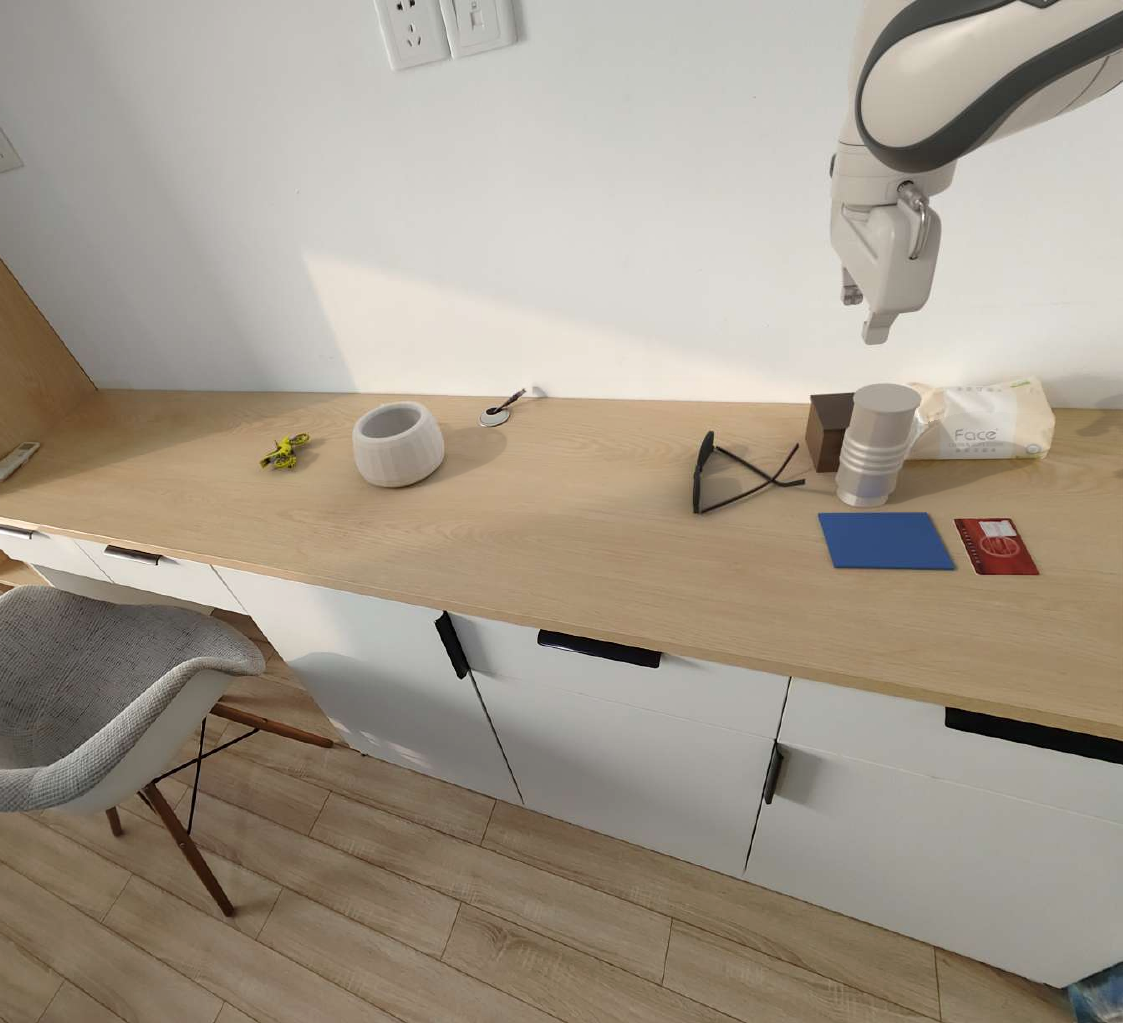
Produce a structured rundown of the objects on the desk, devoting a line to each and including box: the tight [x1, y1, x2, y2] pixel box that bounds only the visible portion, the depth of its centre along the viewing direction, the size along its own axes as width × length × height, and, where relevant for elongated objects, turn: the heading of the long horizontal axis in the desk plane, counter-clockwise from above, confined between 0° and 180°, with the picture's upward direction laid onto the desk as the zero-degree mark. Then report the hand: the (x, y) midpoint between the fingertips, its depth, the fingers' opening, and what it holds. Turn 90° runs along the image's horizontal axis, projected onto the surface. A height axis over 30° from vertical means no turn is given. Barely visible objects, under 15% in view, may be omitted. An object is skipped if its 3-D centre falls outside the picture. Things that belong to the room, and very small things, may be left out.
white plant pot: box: [351, 400, 446, 488], centre depth 112 cm, size 21×17×10 cm
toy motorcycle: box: [259, 432, 311, 470], centre depth 124 cm, size 12×4×7 cm
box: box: [804, 391, 856, 473], centre depth 87 cm, size 9×9×8 cm
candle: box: [835, 382, 923, 509], centre depth 78 cm, size 7×7×15 cm
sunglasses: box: [692, 430, 806, 515], centre depth 88 cm, size 17×14×5 cm
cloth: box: [817, 511, 956, 571], centre depth 76 cm, size 12×10×1 cm
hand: (861, 320), depth 61 cm, fingers open, 8 cm apart
